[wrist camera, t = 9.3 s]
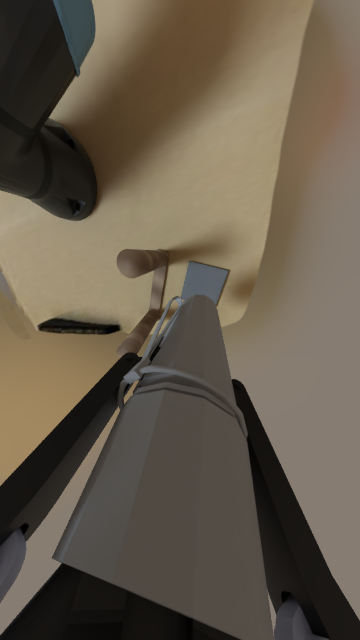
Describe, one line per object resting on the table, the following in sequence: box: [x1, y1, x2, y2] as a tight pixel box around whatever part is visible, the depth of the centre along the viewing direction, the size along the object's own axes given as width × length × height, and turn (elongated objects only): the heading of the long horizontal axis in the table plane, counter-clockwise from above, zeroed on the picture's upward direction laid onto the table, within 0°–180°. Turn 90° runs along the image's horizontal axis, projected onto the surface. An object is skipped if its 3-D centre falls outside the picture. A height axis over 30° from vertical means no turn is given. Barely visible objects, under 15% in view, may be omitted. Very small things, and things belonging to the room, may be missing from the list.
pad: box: [181, 261, 228, 306], centre depth 36 cm, size 10×10×1 cm
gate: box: [117, 249, 169, 358], centre depth 30 cm, size 20×4×19 cm, turn 168°
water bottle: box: [52, 294, 274, 640], centre depth 15 cm, size 9×8×25 cm
